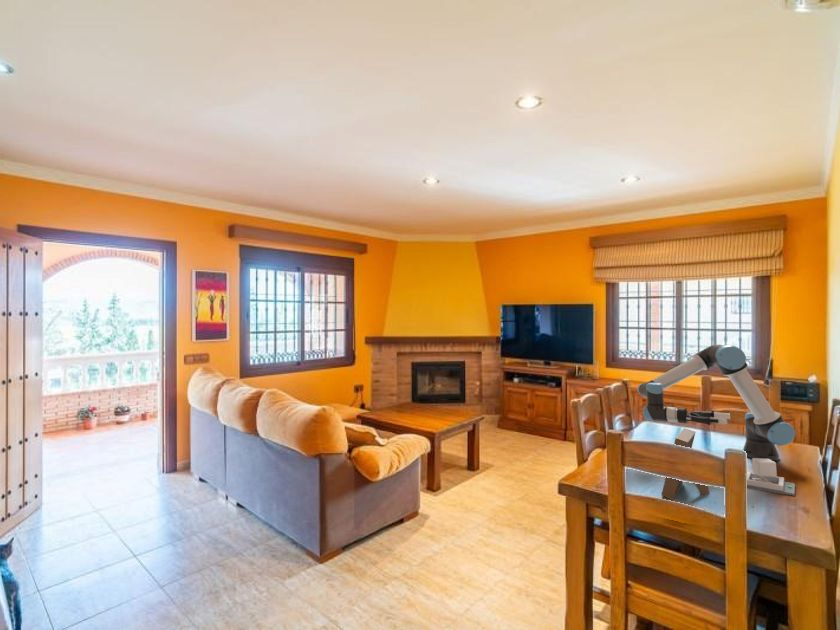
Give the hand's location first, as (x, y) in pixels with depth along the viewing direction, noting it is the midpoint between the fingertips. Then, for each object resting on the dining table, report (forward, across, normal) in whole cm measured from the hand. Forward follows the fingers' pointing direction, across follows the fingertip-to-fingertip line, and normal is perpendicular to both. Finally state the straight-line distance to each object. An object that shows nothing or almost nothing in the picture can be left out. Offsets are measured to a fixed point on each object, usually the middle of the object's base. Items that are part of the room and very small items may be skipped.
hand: (728, 418), depth 206 cm
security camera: (+12, +12, -25) cm, 30 cm away
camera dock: (+12, +12, -26) cm, 31 cm away
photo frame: (-12, +42, -25) cm, 50 cm away
